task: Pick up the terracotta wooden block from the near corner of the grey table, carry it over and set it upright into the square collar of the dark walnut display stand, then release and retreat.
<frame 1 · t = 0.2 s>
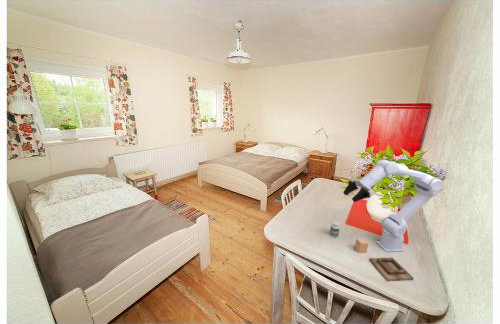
hand: (348, 197, 94), 30 cm above the table, tool tilted 45°, fingers open, 7 cm apart
terracotta block: (360, 250, 102), on the table
pill bottle: (333, 235, 114), on the table
display stand: (389, 269, 90), on the table
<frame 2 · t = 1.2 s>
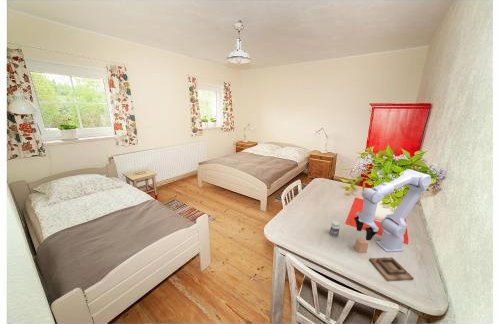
hand: (363, 235, 99), 9 cm above the table, tool pointing down, fingers open, 7 cm apart
nothing on the table moved.
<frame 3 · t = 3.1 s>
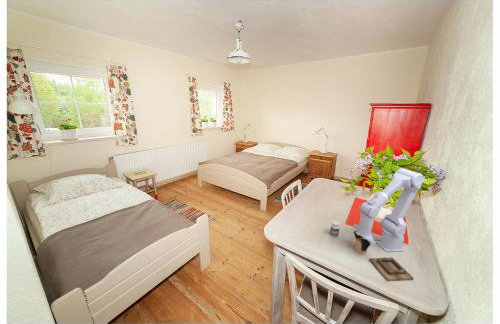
hand: (360, 247, 101), 2 cm above the table, tool pointing down, fingers closed on terracotta block, 4 cm apart
terracotta block: (360, 250, 102), on the table, touching gripper
everything else where it was.
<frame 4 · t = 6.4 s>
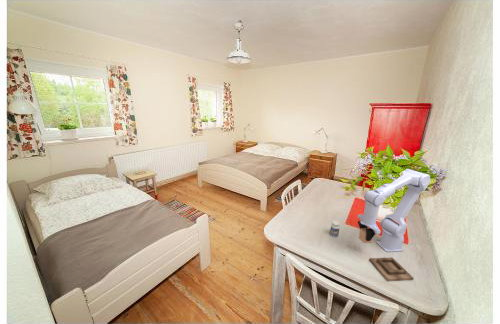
hand: (365, 237, 98), 9 cm above the table, tool pointing down, fingers closed on terracotta block, 4 cm apart
terracotta block: (364, 240, 99), point 7 cm above the table, touching gripper
everything else where it was.
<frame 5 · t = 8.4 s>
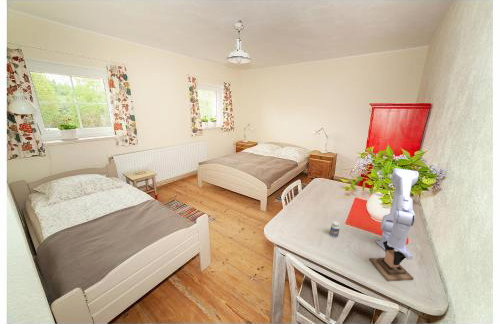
hand: (392, 260, 88), 5 cm above the table, tool pointing down, fingers closed on terracotta block, 4 cm apart
terracotta block: (391, 263, 89), point 3 cm above the table, touching gripper
everything else where it was.
when the fingers open (4 cm above the table, at t = 9.8 s): terracotta block stays where it is, resting on display stand.
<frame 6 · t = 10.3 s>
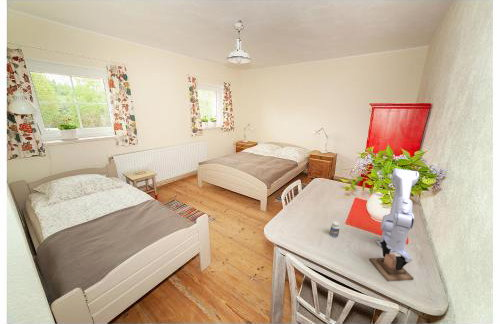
hand: (391, 262, 89), 4 cm above the table, tool pointing down, fingers open, 7 cm apart
terracotta block: (390, 267, 89), point 1 cm above the table, touching display stand
everything else where it was.
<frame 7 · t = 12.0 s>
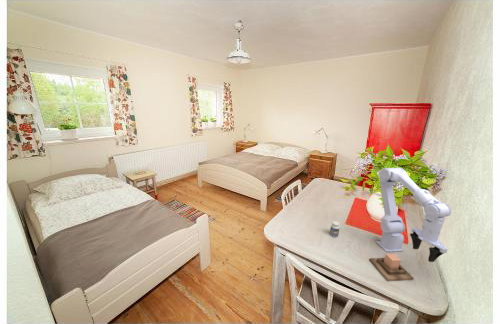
hand: (422, 254, 86), 9 cm above the table, tool pointing down, fingers open, 7 cm apart
nothing on the table moved.
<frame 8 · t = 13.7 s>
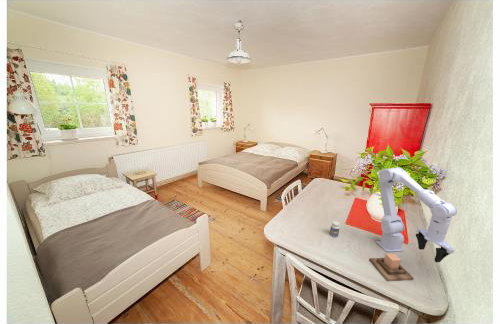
hand: (428, 255, 86), 9 cm above the table, tool pointing down, fingers open, 7 cm apart
nothing on the table moved.
at the end: terracotta block 0.0 cm off-centre on the display stand, point 1.2 cm above the display stand's base; terracotta block tilted 0°; the gripper is holding nothing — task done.
